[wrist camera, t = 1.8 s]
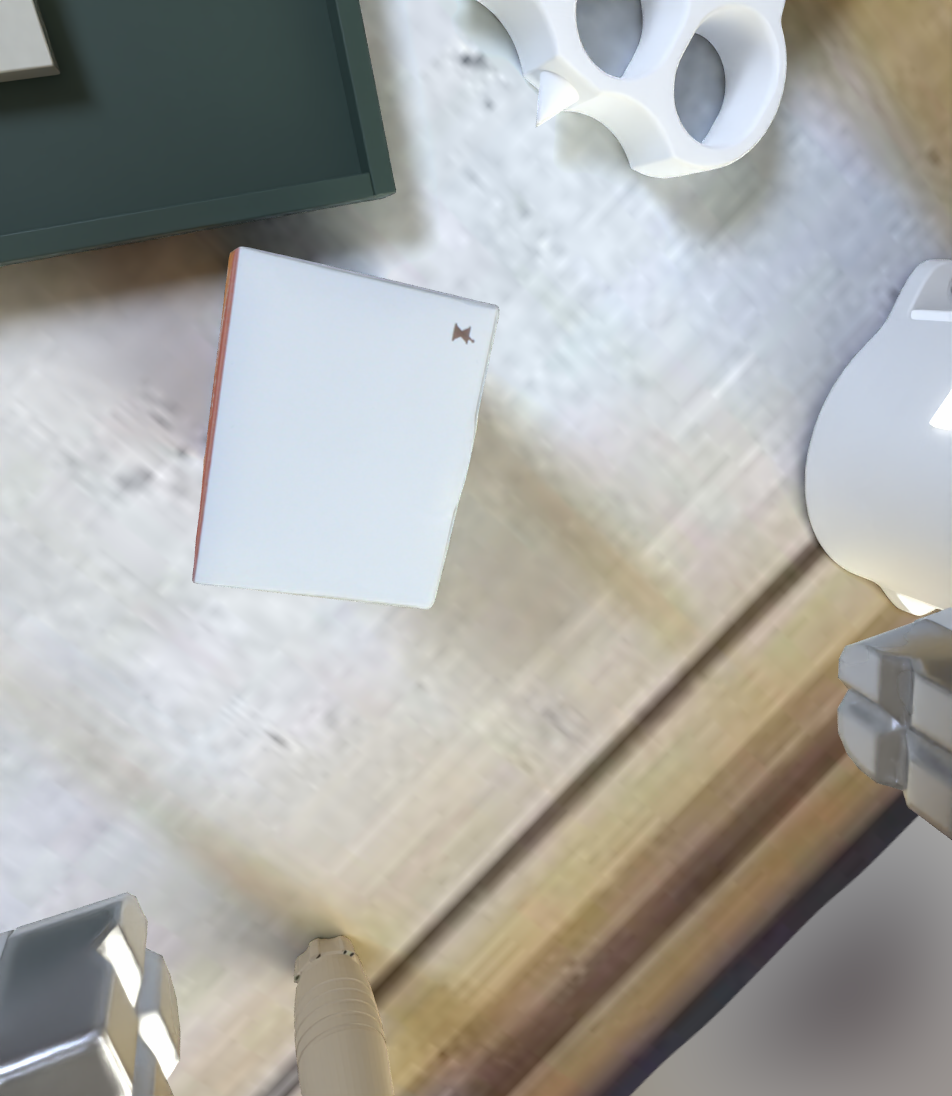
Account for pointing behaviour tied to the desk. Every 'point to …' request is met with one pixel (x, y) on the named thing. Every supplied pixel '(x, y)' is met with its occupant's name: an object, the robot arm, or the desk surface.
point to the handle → (338, 1024)
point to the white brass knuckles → (657, 76)
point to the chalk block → (24, 42)
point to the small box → (338, 431)
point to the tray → (187, 122)
